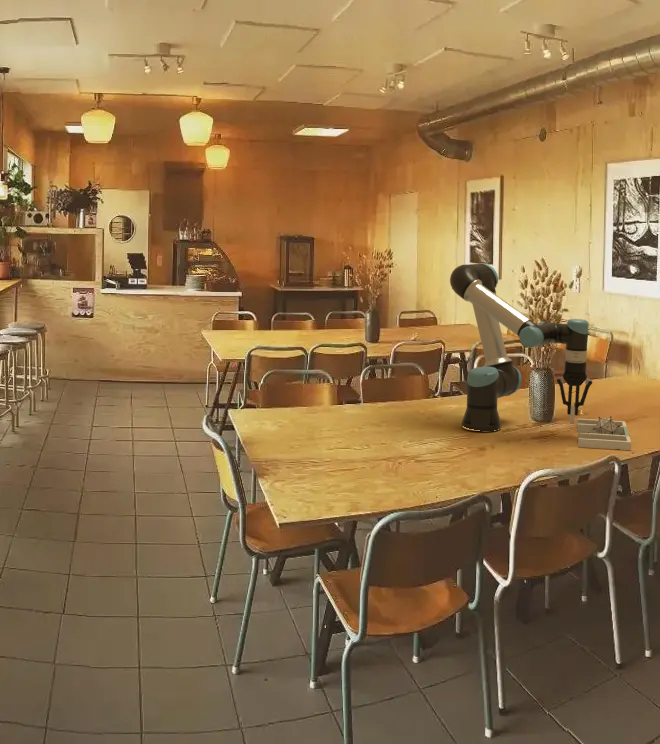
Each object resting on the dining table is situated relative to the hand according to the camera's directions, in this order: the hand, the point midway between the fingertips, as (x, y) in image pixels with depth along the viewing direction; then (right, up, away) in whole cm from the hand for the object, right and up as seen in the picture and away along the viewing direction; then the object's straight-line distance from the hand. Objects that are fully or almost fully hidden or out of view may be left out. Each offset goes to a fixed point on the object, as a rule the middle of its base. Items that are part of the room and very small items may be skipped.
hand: (571, 423), depth 307 cm
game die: (+12, -6, -3) cm, 13 cm away
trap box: (+10, -5, -2) cm, 11 cm away
